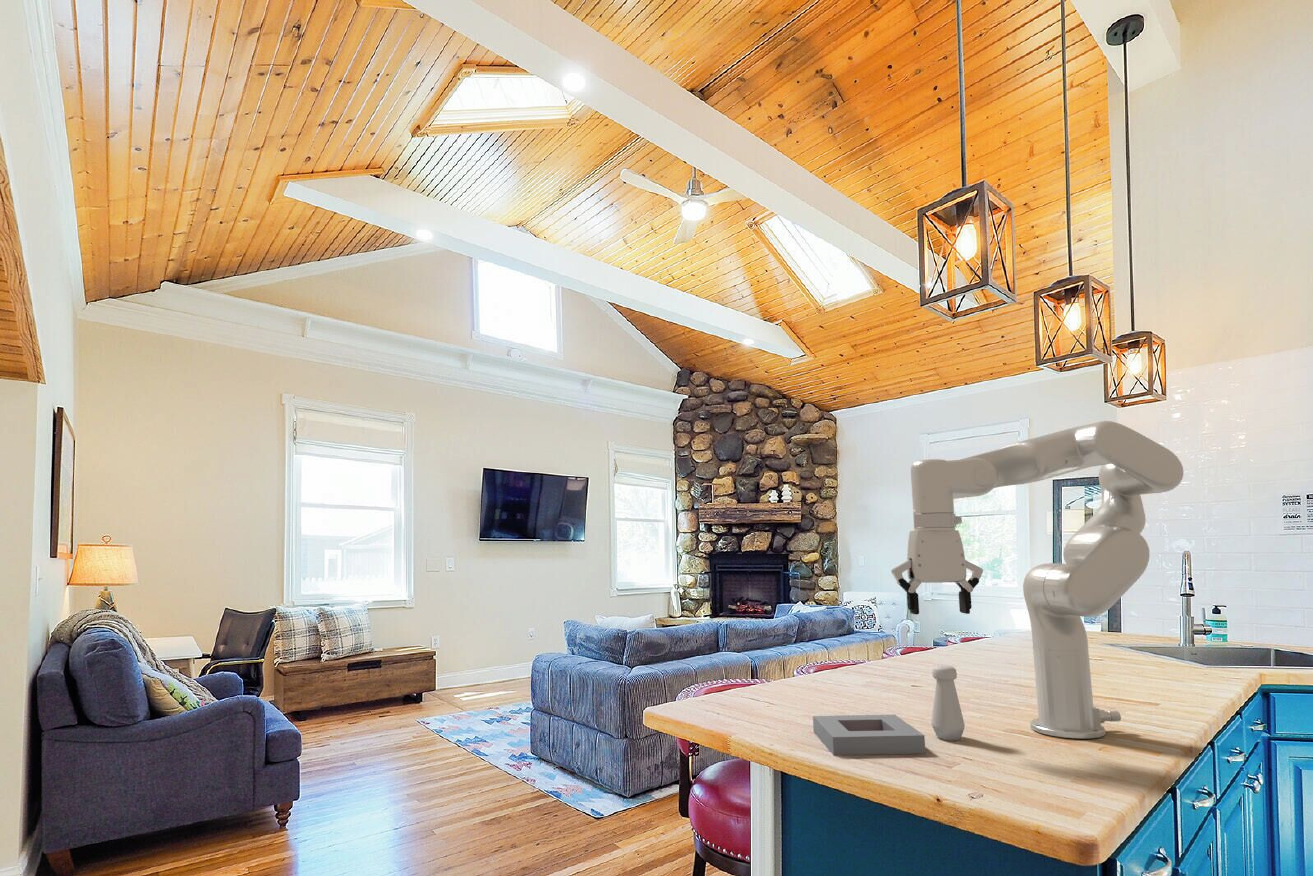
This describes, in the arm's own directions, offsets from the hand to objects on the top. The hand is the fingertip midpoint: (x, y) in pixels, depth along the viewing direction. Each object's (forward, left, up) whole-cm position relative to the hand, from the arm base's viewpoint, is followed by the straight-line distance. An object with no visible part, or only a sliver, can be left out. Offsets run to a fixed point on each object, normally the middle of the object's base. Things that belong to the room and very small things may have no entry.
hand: (939, 613), depth 144 cm
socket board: (+16, +2, -23) cm, 28 cm away
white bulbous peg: (0, 0, -23) cm, 23 cm away
